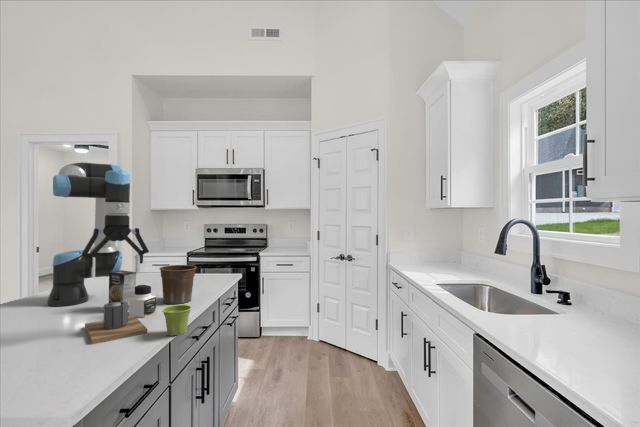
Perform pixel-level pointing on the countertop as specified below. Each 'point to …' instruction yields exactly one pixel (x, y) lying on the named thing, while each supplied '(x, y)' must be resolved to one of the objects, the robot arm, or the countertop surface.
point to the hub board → (114, 329)
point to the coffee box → (121, 286)
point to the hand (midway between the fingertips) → (116, 274)
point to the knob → (115, 314)
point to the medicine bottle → (142, 302)
